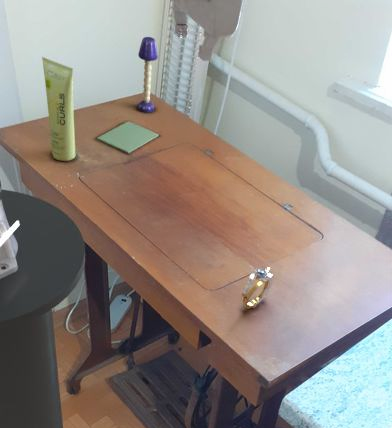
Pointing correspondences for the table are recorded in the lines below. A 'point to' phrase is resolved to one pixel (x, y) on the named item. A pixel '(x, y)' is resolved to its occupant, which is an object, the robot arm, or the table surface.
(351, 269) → the table surface
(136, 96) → the table surface
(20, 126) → the table surface
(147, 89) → the toy lamp
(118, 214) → the table surface
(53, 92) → the tube
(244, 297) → the ring
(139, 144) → the mat
